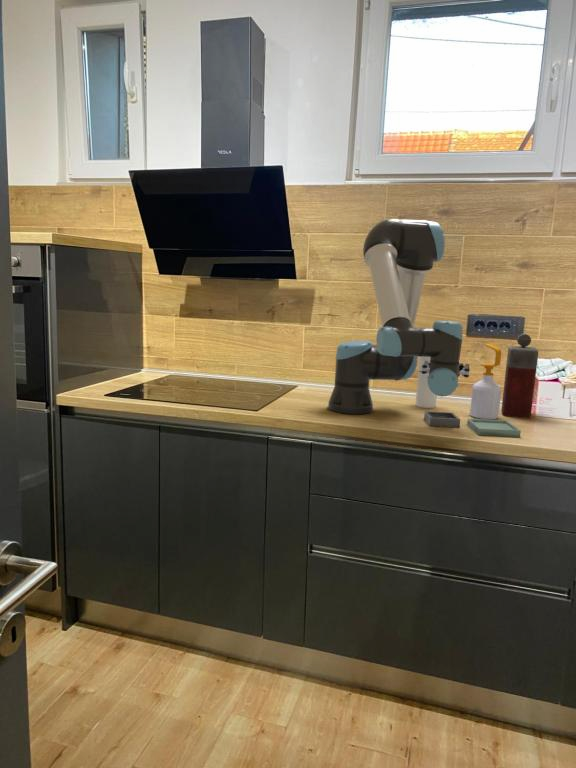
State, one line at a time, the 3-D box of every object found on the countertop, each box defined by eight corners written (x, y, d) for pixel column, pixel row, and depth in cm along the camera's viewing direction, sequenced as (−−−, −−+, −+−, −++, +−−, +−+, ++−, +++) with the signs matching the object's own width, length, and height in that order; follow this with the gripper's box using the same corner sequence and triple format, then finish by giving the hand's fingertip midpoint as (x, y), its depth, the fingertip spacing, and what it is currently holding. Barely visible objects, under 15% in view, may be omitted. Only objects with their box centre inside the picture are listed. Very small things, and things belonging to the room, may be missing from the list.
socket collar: (429, 425, 176) (430, 418, 176) (423, 418, 185) (424, 411, 185) (459, 427, 176) (460, 419, 176) (452, 420, 185) (452, 412, 185)
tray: (478, 435, 168) (478, 428, 167) (467, 424, 180) (467, 418, 179) (520, 437, 167) (520, 430, 167) (505, 426, 179) (506, 420, 179)
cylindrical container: (419, 402, 210) (424, 335, 206) (438, 405, 207) (444, 337, 202) (412, 406, 204) (418, 336, 199) (432, 409, 200) (438, 338, 196)
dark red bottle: (527, 411, 202) (537, 333, 197) (530, 418, 192) (540, 335, 187) (501, 409, 205) (509, 331, 200) (502, 415, 194) (511, 334, 189)
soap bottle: (475, 412, 198) (482, 342, 194) (501, 416, 193) (509, 344, 188) (465, 416, 191) (472, 343, 187) (492, 421, 186) (500, 346, 181)
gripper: (409, 384, 164) (415, 372, 186) (478, 390, 158) (477, 377, 180) (411, 358, 162) (417, 349, 184) (481, 364, 157) (479, 354, 179)
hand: (447, 363), depth 182 cm, fingers closed on beverage cup, 6 cm apart
